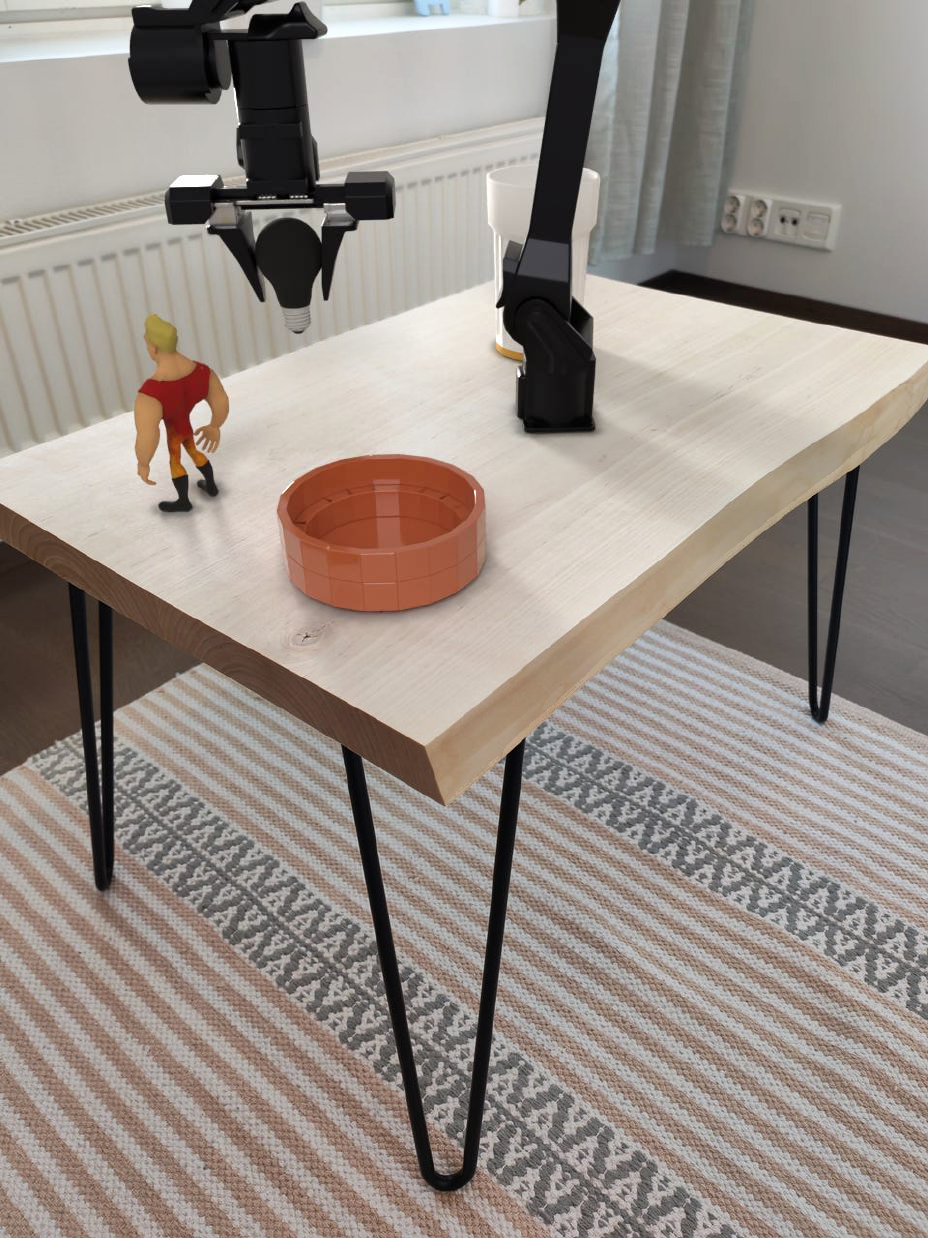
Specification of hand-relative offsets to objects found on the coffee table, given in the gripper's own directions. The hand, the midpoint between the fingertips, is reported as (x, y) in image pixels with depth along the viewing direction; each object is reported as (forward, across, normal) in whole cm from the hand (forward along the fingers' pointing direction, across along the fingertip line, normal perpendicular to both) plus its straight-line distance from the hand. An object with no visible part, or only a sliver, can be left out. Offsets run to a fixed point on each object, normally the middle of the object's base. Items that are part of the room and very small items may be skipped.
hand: (295, 300), depth 87 cm
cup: (+11, -23, -16) cm, 30 cm away
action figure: (+11, +8, +18) cm, 22 cm away
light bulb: (+3, 0, 0) cm, 3 cm away
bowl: (+10, -9, +27) cm, 31 cm away
